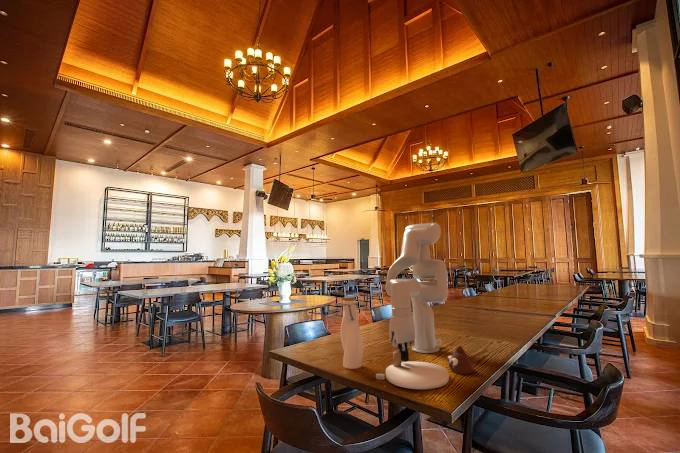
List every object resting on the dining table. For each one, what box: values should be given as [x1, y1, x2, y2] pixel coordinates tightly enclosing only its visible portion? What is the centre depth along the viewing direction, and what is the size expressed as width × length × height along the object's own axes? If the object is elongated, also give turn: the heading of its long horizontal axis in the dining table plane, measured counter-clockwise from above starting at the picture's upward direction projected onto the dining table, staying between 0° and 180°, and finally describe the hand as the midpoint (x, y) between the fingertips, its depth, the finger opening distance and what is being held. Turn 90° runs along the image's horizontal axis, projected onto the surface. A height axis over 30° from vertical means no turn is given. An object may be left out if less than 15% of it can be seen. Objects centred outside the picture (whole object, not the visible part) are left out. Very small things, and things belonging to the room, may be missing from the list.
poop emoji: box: [446, 345, 475, 375], centre depth 121 cm, size 10×8×9 cm
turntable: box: [385, 350, 450, 390], centre depth 114 cm, size 22×22×7 cm
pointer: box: [375, 373, 386, 380], centre depth 116 cm, size 3×1×2 cm, turn 82°
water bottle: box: [339, 295, 364, 370], centre depth 132 cm, size 10×9×28 cm
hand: (404, 360), depth 123 cm, fingers closed
